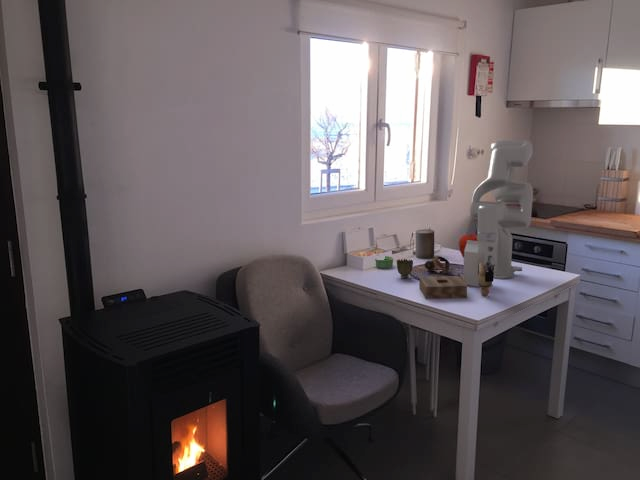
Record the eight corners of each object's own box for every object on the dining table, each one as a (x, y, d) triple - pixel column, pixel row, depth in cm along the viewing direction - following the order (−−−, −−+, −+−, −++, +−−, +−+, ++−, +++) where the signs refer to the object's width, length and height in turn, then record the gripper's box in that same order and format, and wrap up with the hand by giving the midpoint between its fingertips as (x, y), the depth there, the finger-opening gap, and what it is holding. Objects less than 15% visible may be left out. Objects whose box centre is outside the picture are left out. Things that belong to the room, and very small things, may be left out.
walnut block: (458, 287, 230) (458, 275, 229) (466, 297, 216) (467, 285, 215) (419, 288, 230) (419, 276, 229) (425, 298, 216) (425, 286, 215)
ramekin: (397, 267, 264) (397, 258, 263) (383, 270, 259) (383, 261, 258) (384, 263, 271) (384, 254, 270) (371, 266, 266) (371, 257, 265)
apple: (453, 259, 274) (453, 232, 271) (471, 256, 279) (472, 229, 276) (470, 265, 263) (471, 237, 260) (488, 261, 268) (489, 234, 265)
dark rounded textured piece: (412, 280, 241) (412, 263, 240) (396, 279, 243) (396, 262, 241) (413, 275, 249) (413, 258, 247) (397, 275, 250) (397, 258, 248)
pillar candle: (437, 256, 282) (438, 227, 279) (427, 259, 275) (427, 230, 272) (422, 253, 288) (422, 226, 285) (411, 257, 281) (411, 229, 278)
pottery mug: (437, 268, 261) (445, 255, 257) (446, 281, 254) (455, 268, 250) (417, 266, 255) (425, 252, 251) (426, 279, 248) (435, 265, 244)
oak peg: (489, 293, 221) (490, 261, 218) (493, 297, 216) (494, 264, 213) (476, 293, 221) (477, 261, 218) (480, 297, 216) (481, 265, 213)
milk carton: (479, 287, 229) (481, 243, 225) (463, 285, 233) (464, 242, 229) (484, 282, 235) (486, 240, 231) (468, 280, 239) (469, 238, 234)
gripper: (503, 240, 204) (501, 284, 208) (489, 231, 221) (488, 271, 225) (483, 241, 204) (482, 284, 208) (471, 232, 221) (470, 272, 225)
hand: (485, 278), depth 216 cm, fingers open, 9 cm apart
